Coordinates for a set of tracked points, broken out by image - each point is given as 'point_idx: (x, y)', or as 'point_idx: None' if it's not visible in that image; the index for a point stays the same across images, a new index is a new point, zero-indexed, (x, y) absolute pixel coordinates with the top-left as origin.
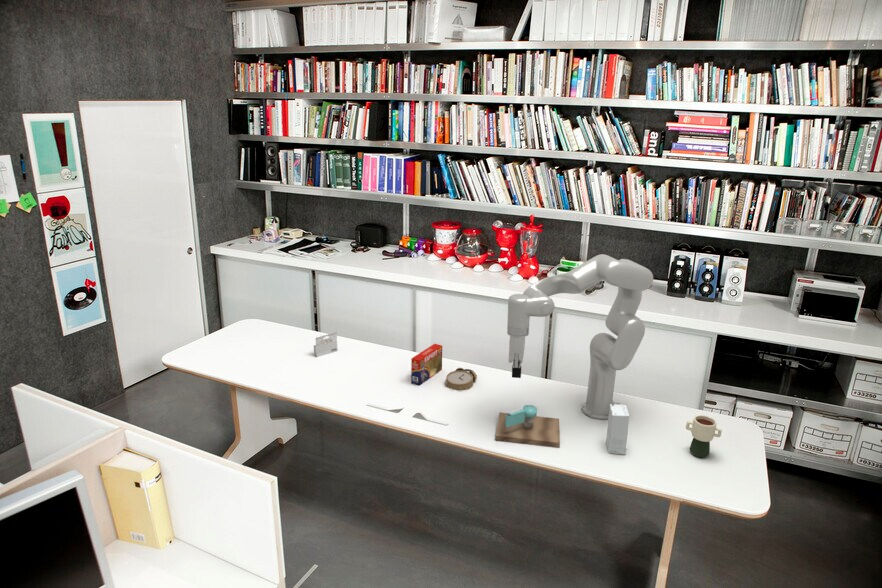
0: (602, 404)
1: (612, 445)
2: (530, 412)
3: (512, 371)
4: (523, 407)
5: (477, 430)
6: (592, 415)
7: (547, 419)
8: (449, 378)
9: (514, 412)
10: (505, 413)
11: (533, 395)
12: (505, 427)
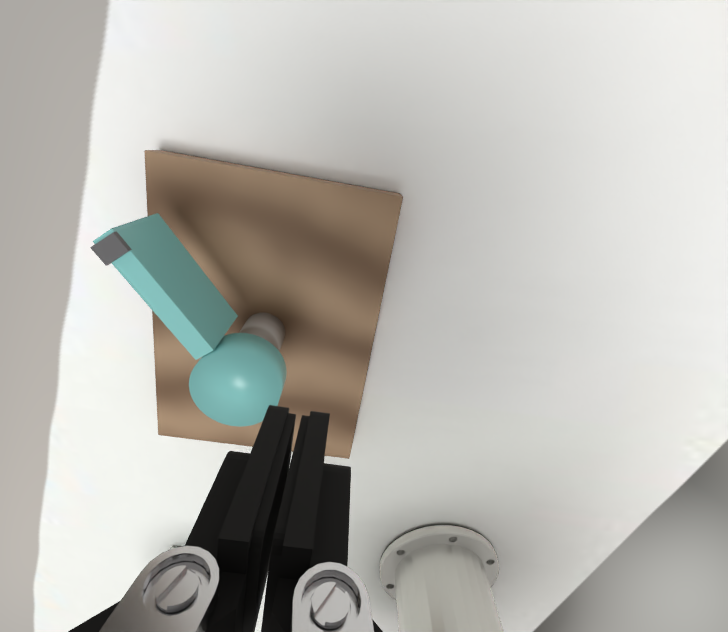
0: (398, 621)
1: None
2: (190, 387)
3: (247, 471)
4: (241, 356)
5: (246, 40)
6: (391, 552)
7: (339, 416)
8: None
9: (159, 292)
10: (390, 230)
11: (594, 381)
12: (240, 215)
